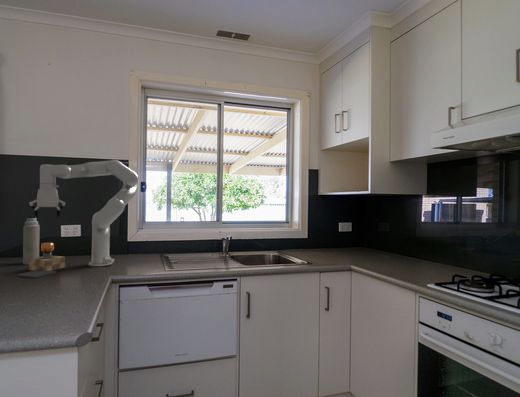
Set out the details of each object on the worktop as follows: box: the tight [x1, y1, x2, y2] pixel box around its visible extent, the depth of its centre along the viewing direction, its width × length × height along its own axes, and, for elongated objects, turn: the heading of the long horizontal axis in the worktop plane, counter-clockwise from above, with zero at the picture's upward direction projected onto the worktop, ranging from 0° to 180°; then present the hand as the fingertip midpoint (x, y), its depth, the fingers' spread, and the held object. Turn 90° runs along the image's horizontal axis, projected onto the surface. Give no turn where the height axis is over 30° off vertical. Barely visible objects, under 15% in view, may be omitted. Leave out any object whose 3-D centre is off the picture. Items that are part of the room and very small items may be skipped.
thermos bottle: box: [22, 215, 41, 265], centre depth 202 cm, size 8×8×28 cm
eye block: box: [28, 255, 66, 271], centre depth 189 cm, size 12×12×6 cm
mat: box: [16, 270, 57, 279], centre depth 174 cm, size 12×12×1 cm
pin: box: [40, 242, 55, 259], centre depth 189 cm, size 6×6×14 cm
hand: (47, 217), depth 190 cm, fingers open, 9 cm apart
